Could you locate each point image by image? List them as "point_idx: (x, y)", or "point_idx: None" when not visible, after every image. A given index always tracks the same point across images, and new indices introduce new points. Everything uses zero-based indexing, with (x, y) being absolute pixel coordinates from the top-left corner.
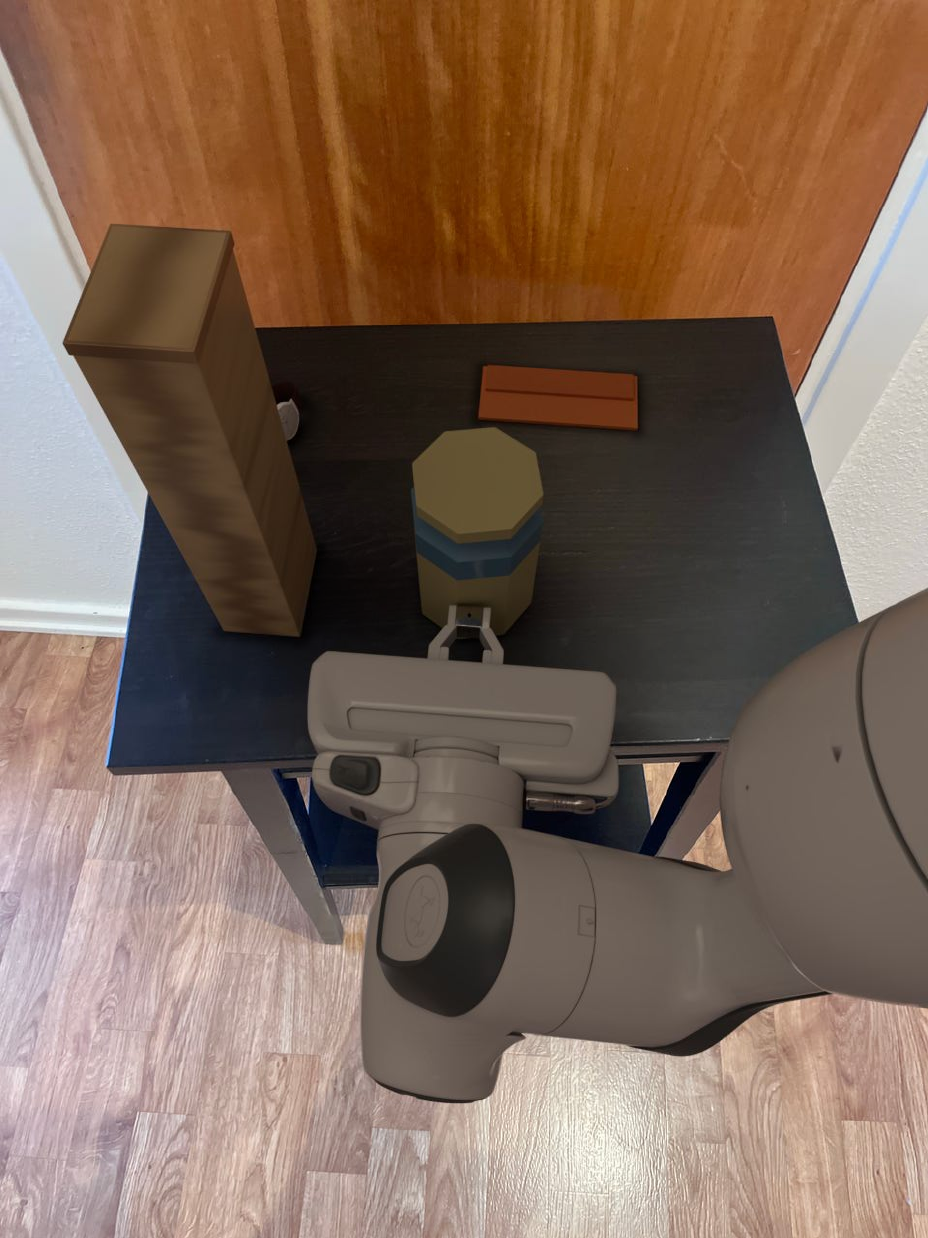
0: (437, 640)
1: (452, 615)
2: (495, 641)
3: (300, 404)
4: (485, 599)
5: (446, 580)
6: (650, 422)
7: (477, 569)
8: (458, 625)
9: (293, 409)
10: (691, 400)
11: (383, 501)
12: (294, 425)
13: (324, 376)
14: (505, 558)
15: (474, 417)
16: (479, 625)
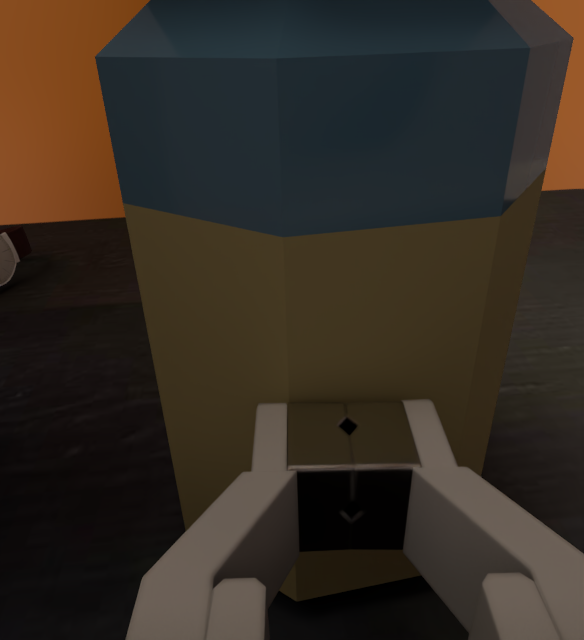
0: (197, 547)
1: (273, 433)
2: (522, 522)
3: (25, 250)
4: (394, 384)
5: (238, 283)
6: (535, 247)
7: (373, 148)
8: (305, 467)
9: (5, 245)
10: (573, 229)
11: (131, 345)
12: (6, 270)
13: (78, 242)
14: (505, 55)
15: None
16: (406, 458)
